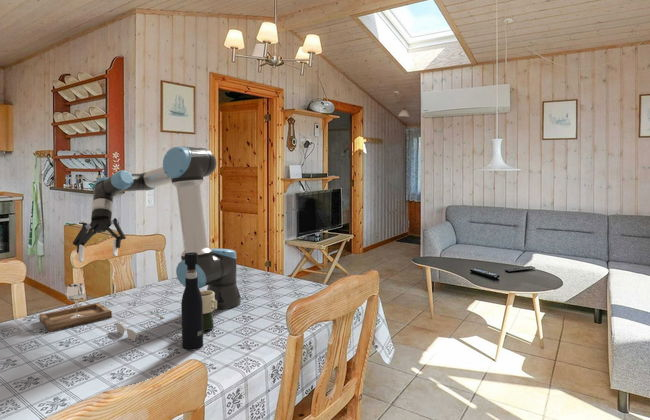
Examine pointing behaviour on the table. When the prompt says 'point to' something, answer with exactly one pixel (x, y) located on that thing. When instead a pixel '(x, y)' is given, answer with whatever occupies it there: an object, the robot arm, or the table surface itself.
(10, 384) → the table surface
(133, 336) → the eyeglasses
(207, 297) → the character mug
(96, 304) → the walnut tray
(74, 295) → the wineglass
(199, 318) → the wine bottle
